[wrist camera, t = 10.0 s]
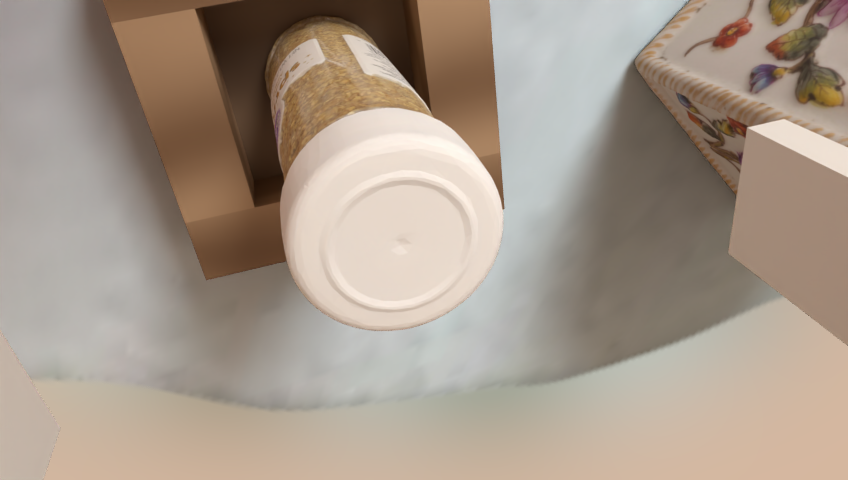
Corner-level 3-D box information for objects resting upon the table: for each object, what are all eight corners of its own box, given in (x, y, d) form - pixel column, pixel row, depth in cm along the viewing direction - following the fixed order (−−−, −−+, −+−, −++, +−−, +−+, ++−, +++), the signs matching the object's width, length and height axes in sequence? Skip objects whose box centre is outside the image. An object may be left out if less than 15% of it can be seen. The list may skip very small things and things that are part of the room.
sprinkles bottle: (245, 36, 23) (245, 185, 11) (365, -3, 23) (486, 102, 11) (291, 149, 25) (330, 369, 14) (399, 112, 25) (527, 295, 14)
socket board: (98, -73, 20) (77, -68, 18) (452, -127, 22) (480, -130, 20) (209, 242, 26) (206, 280, 24) (480, 180, 28) (504, 209, 26)
